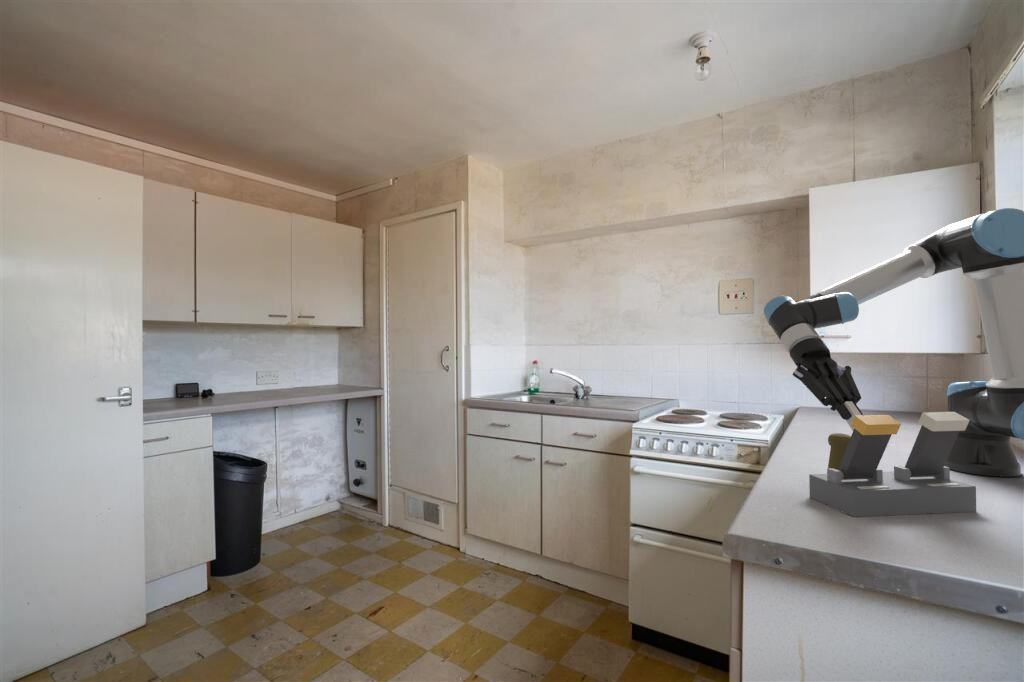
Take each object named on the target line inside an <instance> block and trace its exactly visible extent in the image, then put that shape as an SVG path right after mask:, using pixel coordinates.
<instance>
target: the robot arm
mask: <svg viewBox="0 0 1024 682" xmlns="http://www.w3.org/2000/svg"><path fill="white" fill-rule="evenodd" d="M957 269H961V270H962V275H963V276H965V277H967V278H969V279H971V280H972V281H973V284H974V289H975V295H976V301H977V306H978V310H979V314H980V315H979V316H980V319H981V325H982V329H983V335H984V339H985V340H984V341H985V345H986V349H987V350H986V351H987V355H988V360H989V364H990V365H989V366H990V369H991V375H992V377H991V378H990V379H989V380H987V381H986V380H985V381H983V380H982V381H980V380H979V381H978V380H977V381H955V382H952V383H950V384H949V385H948V387H947V392H946V401H947V412H956V413H958V414H959V415H961V416H963V417H965V418H967V419H969V420H970V421H969V423H968V425H967V427H966V429H965V431H960V432H959V434H958V436H957V438H956V441H955V443H954V445H953V447H952V450H951V452H950V454H949V456H948V458H947V461H946V463H945V465H944V466H945V467H949V468H950V470H951V471H957V472H961V473H965V474H966V473H967V474H972V475H978V476H979V475H980V476H987V477H988V476H989V477H998V476H1000V477H999V478H1001V477H1003V478H1006V477H1007V478H1010V477H1011V478H1013V477H1014V476H1015V477H1019V475H1020V476H1021V475H1022V468H1021V464H1020V463H1019V461H1018V459H1017V455H1016V453H1015V451H1014V449H1013V446H1012V444H1011V438H1013V439H1014V438H1016V439H1019V440H1021V441H1024V210H1022V209H1018V208H1011V207H1008V208H999V209H995V210H989V211H985V212H983V213H979V214H977V215H975V216H972V217H968V218H966V219H963V220H960V221H957V222H953V223H951V224H947V226H945V227H942V228H940V229H938V230H936V231H935V232H933V233H931V234H930V235H928V236H926V237H924V238H921V239H920V240H919V241H917V242H914V243H913V244H910V245H908V246H906V247H905V248H904V250H903V253H900V254H897V255H896V256H894V257H892V258H889V259H887V260H885V261H883V262H881V263H878V264H876V265H874V266H872V267H870V268H868V269H865V270H863V271H861V272H859V273H857V274H854V275H853V276H850V277H849V278H847V279H844V280H842V281H839V282H837V283H835V284H833V285H831V286H829V287H826V288H824V289H822V290H820V291H818V292H816V293H814V294H812V295H809V296H807V297H805V298H803V299H801V300H794V299H793V298H792V297H790V296H787V295H778V296H775V297H773V298H771V299H770V300H769V301H767V302H766V304H765V305H764V308H763V315H764V316H765V317H764V318H765V319H766V321H767V322H768V323H767V324H768V325H769V326H770V327H771V329H772V330H773V332H774V333H775V335H776V336H777V338H778V339H779V340H780V342H781V344H782V345H783V347H784V349H785V350H786V352H787V353H788V354H789V357H790V359H791V360H792V361H793V363H794V364H795V366H796V368H795V370H794V371H793V373H792V376H793V377H794V378H796V379H798V380H799V381H800V382H802V384H803V385H804V386H805V387H806V388H807V390H808V391H810V393H811V394H812V395H814V397H815V398H816V399H817V400H818V401H819V402H820V403H821V405H823V406H824V407H828V406H830V408H829V409H830V410H831V411H837V413H838V414H839V416H840V417H841V419H843V420H845V422H846V423H847V425H848V427H850V429H851V430H852V431H853V430H854V428H853V427H852V426H851V424H852V422H853V419H854V417H855V415H864V414H863V411H861V410H860V408H859V407H858V405H857V404H858V403H859V402H860V401H861V399H862V396H861V393H860V391H859V388H858V386H857V384H856V381H855V380H854V377H853V375H852V367H851V366H849V365H845V366H844V367H843V366H840V365H838V362H837V361H835V359H833V358H832V356H831V352H830V351H831V350H830V348H829V347H828V346H827V344H826V343H825V342H824V340H823V339H822V338H821V337H820V334H819V333H818V332H817V331H816V330H815V329H821V328H825V327H831V326H836V325H844V324H845V323H848V322H849V323H850V322H853V321H855V320H856V319H857V318H858V316H859V312H860V307H859V305H861V304H863V303H865V302H867V301H869V300H872V299H874V298H877V297H878V296H881V295H883V294H886V293H887V292H888V293H889V292H891V291H892V290H894V289H896V288H899V287H902V286H903V285H905V284H907V283H910V282H912V281H914V280H916V279H919V278H921V279H928V278H930V277H933V276H935V275H937V274H940V273H943V272H947V271H952V270H957ZM1015 477H1014V478H1015Z"/></svg>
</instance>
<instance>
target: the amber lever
mask: <svg viewBox="0 0 1024 682" xmlns="http://www.w3.org/2000/svg"><path fill="white" fill-rule="evenodd" d="M901 425H902V423H900V422H899V421H897V420H896V419H895V418H893V417H892V416H890V415H889V414H863V415H855V417H854V419H853V422H852V424H851V426H852V427H853V428H854V430H852V433H851V435H850V436H851V438H850V440H849V443H848V445H847V448H846V450H845V453H844V455H843V458H842V461H841V463H840V466H839V468H838V470H839V471H841V475H842V480H856V479H873V478H874V474H875V472H876V469H877V468H879V467H878V466H879V464H880V462H881V460H882V458H883V456H884V453H885V451H886V450H887V449H886V448H887V447H888V444H889V442H890V440H891V438H892V435H897V434H898V432H899V430H900V427H901Z"/></svg>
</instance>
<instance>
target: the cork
mask: <svg viewBox="0 0 1024 682" xmlns="http://www.w3.org/2000/svg"><path fill="white" fill-rule="evenodd" d="M850 438H851V435H849V434H845V433H841V432H840V433H839V432H838V433H837V432H836V433H835V432H834V433H831V434H829V436H828V437H827V441H828V442H827V443H828V445H829V446H830V449H829V456H828V464H827V468H833V469H836V470H838V468H839V466H840V463H841V461H842V458H843V455H844V453H845V450H846V448H847V445H848V443H849V440H850Z"/></svg>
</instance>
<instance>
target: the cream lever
mask: <svg viewBox="0 0 1024 682" xmlns="http://www.w3.org/2000/svg"><path fill="white" fill-rule="evenodd" d="M969 421H970V420H969V419H967V418H965V417H963V416H961V415H959V414H958V413H956V412H948V411H931V412H930V411H929V412H924V411H922V413H921V415H920V418H919V420H918V424H920V425H921V427H920V429H919V431H918V433H917V436H916V439H915V442H914V443H913V445H912V449H911V450H910V453H909V455H908V458H907V461H906V463H905V465H904V468H908V469H910V478H911V477H939V476H940V475H941V472H942V470H943V467H944V465H945V463H946V461H947V458H948V456H949V454H950V452H951V450H952V447H953V445H954V443H955V441H956V438H957V436H958V434H959V432H960V431H965V429H966V427H967V425H968V423H969Z"/></svg>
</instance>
